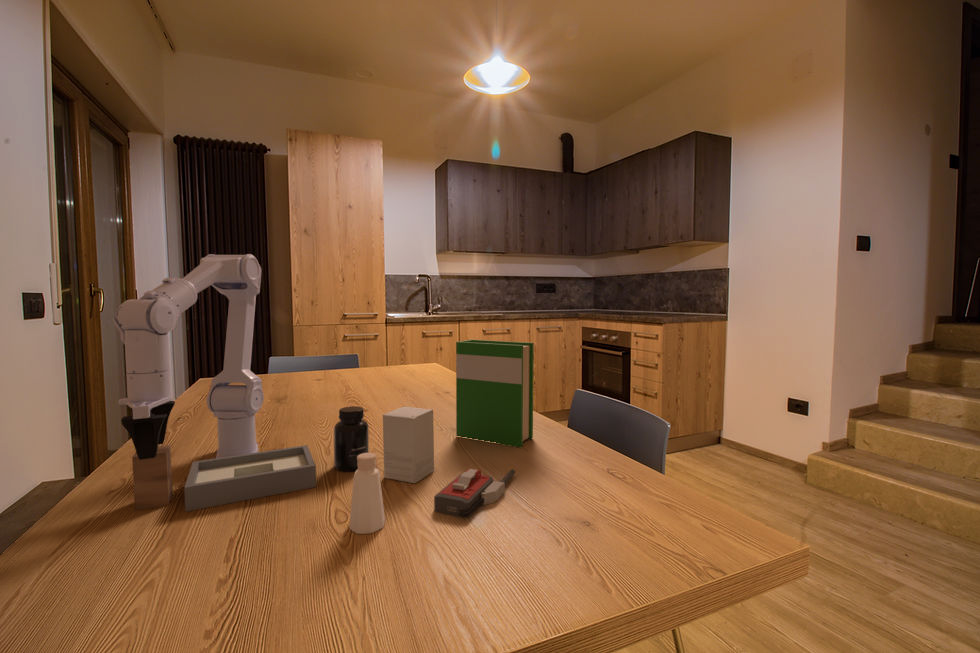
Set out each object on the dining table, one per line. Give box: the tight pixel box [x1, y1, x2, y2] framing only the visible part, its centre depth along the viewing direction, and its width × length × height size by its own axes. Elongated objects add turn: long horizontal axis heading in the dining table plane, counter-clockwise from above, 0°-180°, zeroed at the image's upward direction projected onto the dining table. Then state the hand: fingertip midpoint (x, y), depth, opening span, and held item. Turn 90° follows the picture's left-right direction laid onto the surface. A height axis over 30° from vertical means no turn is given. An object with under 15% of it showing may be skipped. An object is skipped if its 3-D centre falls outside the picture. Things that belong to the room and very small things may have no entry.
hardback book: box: [455, 339, 535, 448], centre depth 110 cm, size 18×7×24 cm, turn 63°
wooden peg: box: [131, 444, 174, 512], centre depth 75 cm, size 4×4×9 cm
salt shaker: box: [348, 452, 386, 535], centre depth 68 cm, size 5×5×11 cm
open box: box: [184, 444, 317, 512], centre depth 82 cm, size 13×20×4 cm, turn 119°
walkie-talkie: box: [433, 468, 516, 519], centre depth 79 cm, size 9×4×20 cm
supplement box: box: [382, 406, 435, 484], centre depth 87 cm, size 7×7×13 cm
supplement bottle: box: [333, 405, 370, 472], centre depth 91 cm, size 7×7×12 cm
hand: (151, 451), depth 75 cm, fingers open, 7 cm apart
